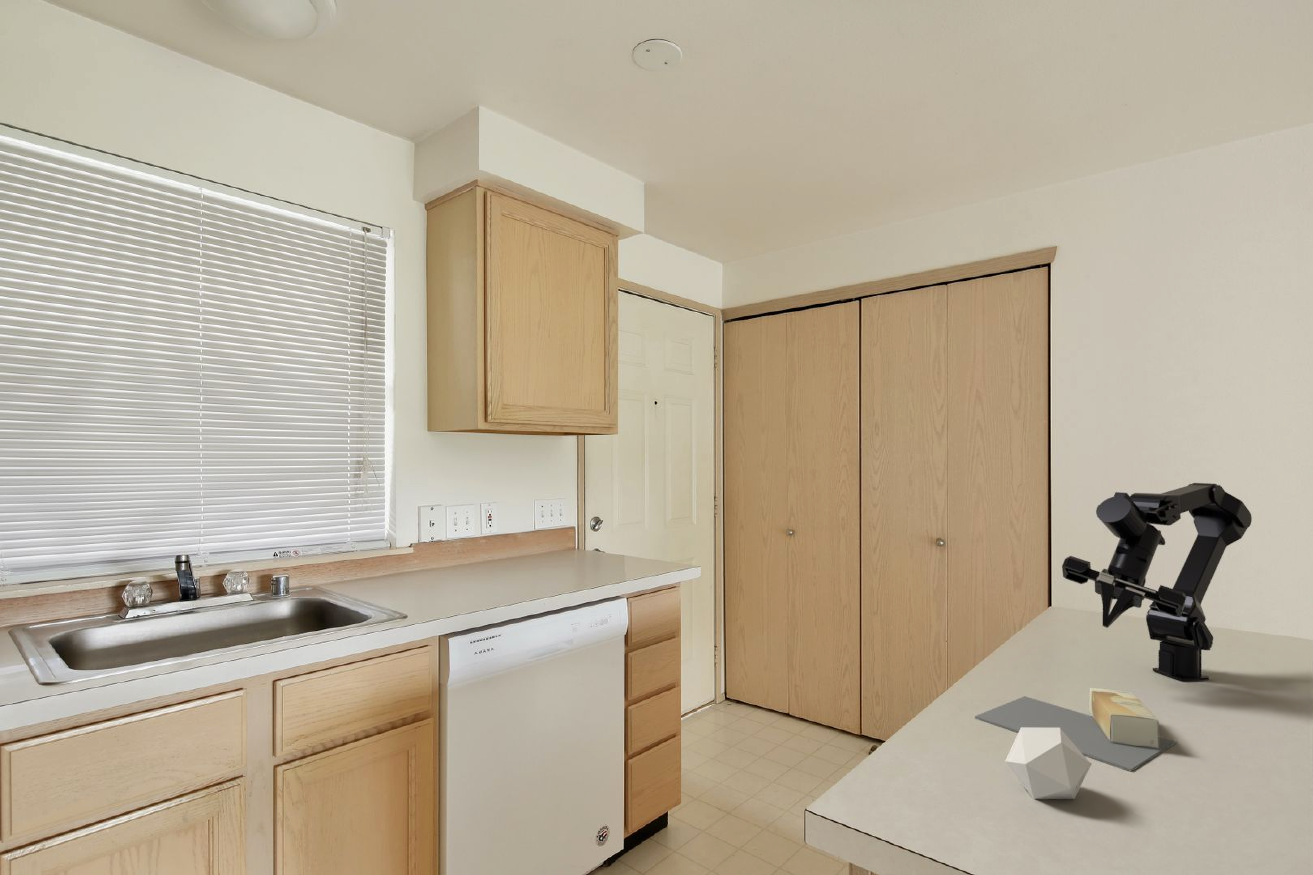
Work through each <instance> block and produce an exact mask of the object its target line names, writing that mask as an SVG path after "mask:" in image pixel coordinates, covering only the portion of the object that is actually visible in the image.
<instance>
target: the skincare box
mask: <svg viewBox="0 0 1313 875" xmlns="http://www.w3.org/2000/svg"><path fill="white" fill-rule="evenodd" d="M1088 697H1089V698H1088V700H1089V702H1088V703H1089V706H1088V708H1089V709H1088V710H1089V711H1088V712H1089V715H1090V716H1093V718H1094V719H1095V721H1096V722H1097V724H1098V725H1099V726H1100V728H1101V729H1102V731H1103V732H1104V733H1105V735H1106V736H1107V738H1108V739H1109V741H1110V742H1112V743H1118V744H1126V745H1133V746H1142V747H1149V748H1157V749H1158V748H1159V736H1160V724H1159V723H1160V722H1159V721H1160V720H1159V719H1158V718H1157V717H1156V716H1155V715H1154V714H1153V713H1152V711H1151V710H1149V709H1148V707H1146V706H1145V705H1144V703H1143V702H1141V700H1140V699H1139V698H1138V697H1137V696H1136V694H1134V693H1133V692H1132V691H1124V690H1119V689H1118V690H1116V689H1107V688H1098V687H1089V696H1088Z"/></svg>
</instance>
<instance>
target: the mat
mask: <svg viewBox="0 0 1313 875" xmlns="http://www.w3.org/2000/svg"><path fill="white" fill-rule="evenodd" d="M974 719H976V720H979V721H983V722H985V723H989V724H991V725H994V726H998V727H1001V728H1003V729H1006V730H1009V731H1012V732H1015V733H1017V734H1018V733H1019V731H1020V728H1021V727H1028V728H1061V730H1062V731H1063V732H1064V733H1065V734H1066V735H1067V737H1068V738H1069V739H1070V740H1071V741H1072V742H1073V743H1074V745H1075V746H1076V747H1077V748H1078V749H1079V750H1080V752H1081V753H1082V754H1083V755H1084V756H1085V757H1088V758H1091V759H1094V760H1096V761H1099V762H1102V763H1105V764H1108V765H1111V766H1113V767H1116V768H1120V769H1122V770H1125V771H1128V772H1133V771H1134V770H1136V769H1137V768H1139V767H1140V766H1142V765H1143V764H1145V763H1147V762H1148V761H1149V760H1151V759H1153V758H1155V757H1156V756H1158V755H1159V754H1161V753H1162V752H1164V751H1165V750H1167V749H1168V748H1170V747H1171V746H1173V745H1174V744H1176V740H1174V739H1169V738H1166V737H1162V736H1160V735H1159V748H1158V749H1157V748H1149V747H1142V746H1133V745H1126V744H1118V743H1112V742H1110V741H1109V739H1108V738H1107V736H1106V735H1105V733H1104V732H1103V731H1102V729H1101V728H1100V726H1099V725H1098V724H1097V722H1096V721H1095V719H1094V718H1093V716H1092V715H1091V714H1086V713H1083V712H1078V711H1076V710H1072V709H1069V708H1065V707H1061V706H1059V705H1055V704H1053V703H1049V702H1046V701H1043V700H1039V699H1035V698H1032V697H1029V696H1022V697H1019V698H1017V699H1014V700H1011V701H1010V702H1006V703H1003V704H1001V705H1000V706H997V707H994V708H992V709H989V710H986V711H985V712H982V713H979V714H977V715H975V716H974Z"/></svg>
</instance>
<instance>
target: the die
mask: <svg viewBox="0 0 1313 875" xmlns="http://www.w3.org/2000/svg"><path fill="white" fill-rule="evenodd" d="M1086 757H1087V756H1084V755H1083V754H1082V753H1081V752H1080V750H1079V749H1078V748H1077V747H1076V746H1075V745H1074V743H1073V742H1072V741H1071V740H1070V739H1069V738H1068V737H1067V735H1066V734H1065V733H1064V732H1063V731H1062V730H1061V728H1028V727H1021V728H1020V731H1019V733H1017V734H1016V736H1015V739H1014V741H1013V744H1012V746H1011V748H1010V750H1009V752H1008V754H1007V757H1006V759H1004V761H1005V763H1006V764H1007V766H1008V767H1009V768H1010V770H1011V771H1012V772H1013V774H1014V775H1015V777H1017V779H1018V781H1020V783H1021V784H1022V785H1023V787H1024V788H1025V789H1026V791H1027V792H1028V794H1030V796H1031V797H1032V798H1033V800H1075V798H1076V797H1077V795H1078V792H1079V791H1080V788H1081V786H1082V784H1083V783H1084V781H1085V778H1086V776H1087V774H1088V771H1089V770H1090V768H1091V766H1092V763H1091V762H1090V761H1089V760H1088V758H1086Z"/></svg>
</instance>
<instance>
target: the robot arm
mask: <svg viewBox="0 0 1313 875" xmlns="http://www.w3.org/2000/svg"><path fill="white" fill-rule="evenodd" d="M1186 512H1188V513H1189V514H1190V516H1191V517H1192V518H1193V525H1194V527H1195V529H1196V532H1197V535H1196V538H1195V540H1194V542H1193V544H1192V547H1191V548H1190V550H1189V552H1188V554H1187V557H1186V559H1185V561H1184V563H1183V565H1182V567H1181V570H1180V572H1179V574H1178V576H1177V578H1176V580H1175V582H1174V585H1173V587H1172V588H1171V587H1168V586H1165V585H1162V584H1160V586H1159V587H1158V590H1156V589H1153V588H1149V587H1147V586H1145V585H1146V581H1147V580H1146V579H1147V578H1146V576H1147V574H1148V572H1149V569H1150V566H1151V564H1152V562H1153V561H1152V560H1153V559H1154V557H1155V553H1156V552H1157V549H1158V546H1165V545H1166V540H1165V537H1164V536H1163V535H1162V531H1161V530H1160V529H1158V528H1157V527H1156V526H1155V525H1157V526H1158V525H1159V526H1172V525H1174V524H1175V523H1176V522H1178V521H1179V520H1181V517H1182V516H1181V514H1183V513H1186ZM1095 514H1096V517H1097V518H1098V519H1099V521H1101V522H1102V523H1103V525H1105V527H1106V528H1107V529H1108V530H1109V531H1110V532H1111V534H1113V536H1114V537H1116V538H1119V540H1118V543H1117V545H1116V547H1115V550H1114V552H1113V555H1112V556H1111V560H1110V562H1109V564H1108V568H1103V569H1102V570H1101V571H1098V570H1095V569H1093V568H1092V567H1091V565H1092V564H1091V561H1088V560H1085V559H1081V558H1080V557H1075V556H1072V555H1070V556H1067V557H1065V558H1064V561H1063V563H1062V565H1061V568H1062V577H1063V578H1064V579H1065V580H1068V581H1070V582H1074V583H1077V584H1079V585H1083V584H1085V583H1088V581H1089V580H1091V581H1092V582H1094V592H1095V593H1096V594H1097V595H1100V597H1101V603H1102V604H1101V605H1102V627H1103V628H1107V629H1108V628H1109V627H1110V626H1111V625H1112V624H1113V623H1114V622H1116V620H1118V618H1119V617H1120V616H1122V614H1124V613H1125V612H1126V611H1128V610H1129V609H1131V608H1134V607H1135V608H1137V609H1141V608H1142V604H1143V601H1144V600H1145V599H1146V600H1150V601H1152V602H1151V603H1150V605H1149V609H1147V610H1148V611H1147V612H1146V615H1145V619H1146V621H1145V622H1146V626H1147V630H1148V635H1149V640H1153V641H1159V649H1158V652H1157V654H1158V657H1157V658H1158V667H1152V671H1153V672H1156V673H1159V674H1162V675H1163V676H1167V677H1169V678H1172V679H1174V680H1175V679H1176V680H1178V681H1181V682H1187V681H1188V682H1189V681H1205V680H1210V676H1209V675H1206V674H1202V651H1211V649H1212V647H1213V645H1214V644H1213V642H1214V636H1213V634H1212V632H1211V631H1210V629H1209V628H1208V627H1207V625H1206V616H1205V615H1206V614H1205V612H1204V610H1203V607H1202V602H1203V600H1204V597H1205V595H1206V593H1207V591H1208V589H1209V587H1210V584H1211V581H1212V579H1214V578H1213V577H1214V576H1215V573H1216V571H1217V568H1218V566H1219V564H1220V562H1221V559H1222V557H1223V555H1224V553H1225V550H1226V548H1227V547H1229V546H1230V545H1232V544H1233V543H1236V542H1238V541H1239V540H1241V539H1242V538H1243V536H1244V535H1245V533H1246V531H1247V530H1248V529H1249V528H1250V526H1251V524H1252V520H1253V519H1252V518H1253V517H1252V513H1251V511H1250V510H1249V509H1248V508H1247V506H1246V504H1245V502H1243V500H1241V499H1239V498H1237V497H1236V496H1234V495H1232V494H1230V493H1228V492H1227V491H1225V489H1224V487H1222V486H1221V484H1217V483H1209V482H1208V483H1207V482H1206V483H1203V482H1192V483H1189V484H1188V485H1186V486H1185V485H1184V486H1183V487H1179V488H1175V489H1172V490H1168V491H1165V492H1162V493H1153V492H1152V493H1151V492H1150V493H1147V492H1143V493H1142V492H1134V493H1131V495H1130V494H1128V492H1121V491H1120V492H1119V491H1118V492H1117V491H1115V492H1114V495H1113V496H1112V497H1111V496H1110V497H1109V498H1106V499H1105V500H1103V501H1102V502H1100V504H1098V505H1097V506H1096V509H1095ZM1113 600H1116V602H1115V603H1114V605H1113V606H1112V603H1113Z"/></svg>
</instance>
